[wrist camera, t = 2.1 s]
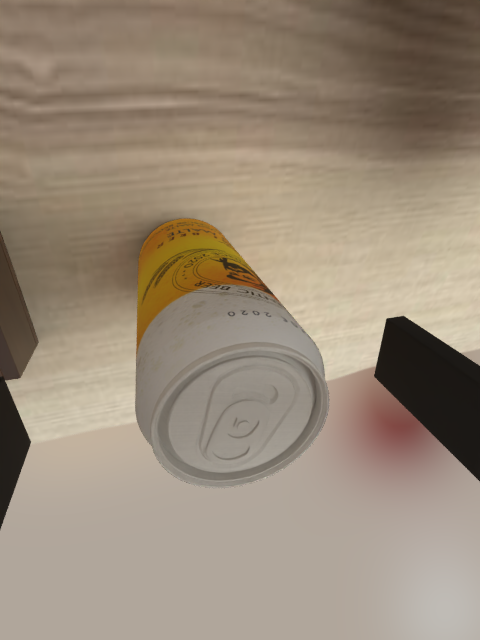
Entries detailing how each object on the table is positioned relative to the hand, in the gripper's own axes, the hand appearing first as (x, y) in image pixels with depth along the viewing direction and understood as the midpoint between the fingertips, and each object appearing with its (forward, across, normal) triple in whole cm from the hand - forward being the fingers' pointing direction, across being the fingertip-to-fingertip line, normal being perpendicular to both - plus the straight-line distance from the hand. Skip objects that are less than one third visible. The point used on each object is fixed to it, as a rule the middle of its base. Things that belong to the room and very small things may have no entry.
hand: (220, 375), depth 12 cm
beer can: (+13, 0, 0) cm, 13 cm away
